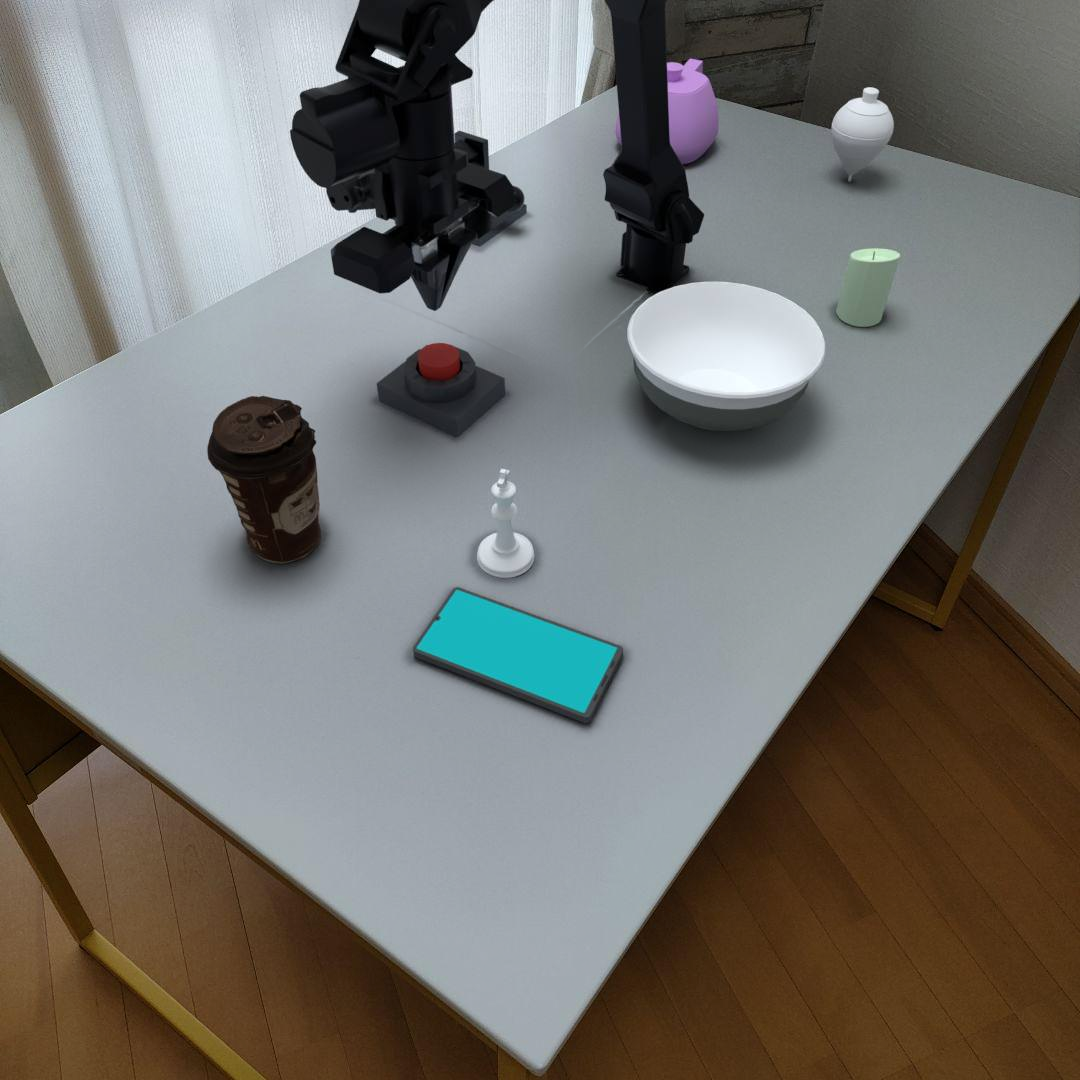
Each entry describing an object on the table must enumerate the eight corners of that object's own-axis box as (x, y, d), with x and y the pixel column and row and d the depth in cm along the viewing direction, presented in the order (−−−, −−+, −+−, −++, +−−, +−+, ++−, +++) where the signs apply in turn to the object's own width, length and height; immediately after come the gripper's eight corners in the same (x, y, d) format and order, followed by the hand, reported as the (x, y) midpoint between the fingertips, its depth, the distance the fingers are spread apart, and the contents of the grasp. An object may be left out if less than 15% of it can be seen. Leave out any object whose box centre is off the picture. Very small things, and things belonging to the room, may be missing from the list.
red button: (468, 366, 98) (467, 351, 97) (443, 386, 96) (441, 372, 95) (436, 352, 100) (435, 337, 98) (411, 372, 97) (409, 357, 96)
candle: (827, 306, 112) (843, 240, 106) (866, 299, 113) (884, 233, 107) (850, 331, 109) (868, 264, 103) (890, 323, 110) (910, 256, 104)
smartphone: (588, 718, 73) (411, 649, 77) (588, 725, 74) (412, 656, 78) (625, 646, 78) (455, 585, 82) (624, 652, 78) (456, 591, 83)
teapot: (586, 166, 135) (589, 83, 127) (651, 112, 147) (658, 32, 139) (676, 190, 130) (685, 105, 122) (735, 132, 142) (747, 51, 134)
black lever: (524, 210, 121) (532, 192, 118) (510, 221, 119) (518, 202, 117) (457, 155, 122) (464, 135, 119) (442, 164, 120) (448, 144, 117)
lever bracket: (527, 215, 126) (526, 139, 119) (479, 249, 120) (476, 172, 113) (452, 189, 130) (447, 115, 123) (402, 221, 125) (394, 145, 118)
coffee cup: (347, 508, 89) (325, 393, 80) (325, 577, 84) (298, 462, 74) (253, 501, 90) (220, 386, 81) (224, 569, 84) (184, 454, 75)
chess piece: (542, 543, 87) (542, 458, 79) (523, 584, 83) (521, 498, 76) (489, 530, 88) (485, 444, 80) (468, 569, 84) (462, 484, 77)
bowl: (830, 460, 94) (851, 391, 88) (634, 469, 93) (641, 399, 87) (783, 344, 107) (798, 277, 101) (611, 350, 106) (615, 283, 100)
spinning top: (834, 162, 136) (855, 72, 127) (887, 178, 133) (912, 86, 124) (810, 184, 132) (829, 92, 123) (864, 200, 129) (888, 107, 120)
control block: (505, 395, 101) (504, 363, 98) (457, 437, 96) (454, 405, 93) (428, 361, 105) (425, 329, 102) (378, 400, 100) (373, 368, 97)
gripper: (416, 83, 90) (429, 240, 101) (267, 162, 79) (300, 327, 91) (516, 114, 86) (518, 274, 97) (373, 201, 75) (394, 369, 86)
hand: (433, 308), depth 93 cm, fingers closed
